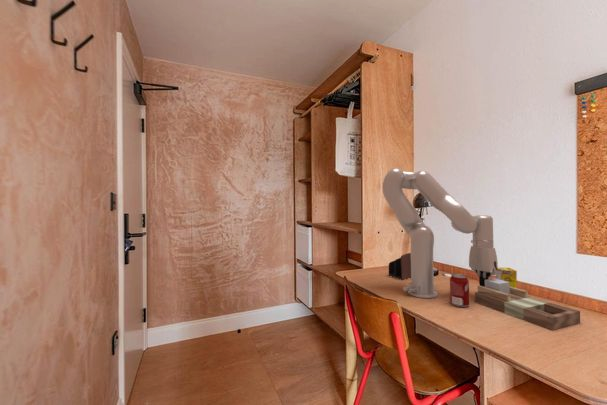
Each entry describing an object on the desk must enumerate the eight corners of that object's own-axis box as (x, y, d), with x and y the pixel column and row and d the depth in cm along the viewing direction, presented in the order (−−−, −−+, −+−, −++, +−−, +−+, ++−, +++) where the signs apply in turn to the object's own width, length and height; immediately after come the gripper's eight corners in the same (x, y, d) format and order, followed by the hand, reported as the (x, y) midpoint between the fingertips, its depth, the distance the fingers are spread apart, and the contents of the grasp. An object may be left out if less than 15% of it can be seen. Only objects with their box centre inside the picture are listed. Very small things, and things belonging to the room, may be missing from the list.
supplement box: (517, 295, 120) (517, 270, 120) (502, 294, 121) (501, 270, 121) (510, 290, 126) (509, 267, 126) (495, 290, 127) (495, 267, 127)
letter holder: (426, 275, 155) (426, 250, 155) (402, 280, 145) (401, 254, 145) (412, 271, 164) (411, 248, 164) (388, 276, 154) (387, 251, 154)
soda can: (462, 309, 106) (462, 278, 106) (446, 303, 112) (446, 274, 112) (473, 306, 109) (472, 276, 109) (456, 300, 115) (456, 272, 115)
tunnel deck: (552, 330, 88) (552, 310, 88) (474, 301, 113) (474, 286, 113) (580, 322, 93) (579, 303, 93) (499, 297, 118) (499, 282, 118)
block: (499, 296, 108) (499, 283, 108) (484, 291, 114) (484, 279, 114) (509, 294, 110) (509, 282, 110) (494, 289, 116) (494, 278, 116)
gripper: (461, 242, 123) (462, 282, 123) (494, 247, 109) (495, 292, 109) (473, 241, 125) (474, 280, 125) (506, 245, 111) (507, 290, 111)
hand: (483, 286), depth 117 cm, fingers closed
